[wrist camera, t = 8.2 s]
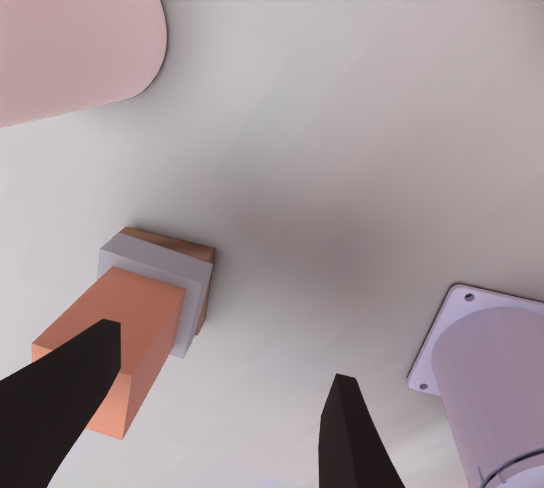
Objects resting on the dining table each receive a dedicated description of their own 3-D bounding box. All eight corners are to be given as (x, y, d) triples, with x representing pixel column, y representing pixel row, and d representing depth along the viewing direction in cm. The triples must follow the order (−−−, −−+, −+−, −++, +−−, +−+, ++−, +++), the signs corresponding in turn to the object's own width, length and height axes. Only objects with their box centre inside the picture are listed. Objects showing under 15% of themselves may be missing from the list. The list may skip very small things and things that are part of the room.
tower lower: (216, 244, 23) (206, 260, 21) (206, 316, 26) (197, 335, 24) (129, 223, 23) (112, 237, 21) (128, 296, 26) (113, 314, 24)
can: (107, 125, 20) (-144, 205, 10) (13, 8, 18) (-429, -52, 8) (198, 46, 18) (-1, 36, 7) (101, -98, 16) (-359, -395, 5)
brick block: (186, 289, 20) (132, 376, 15) (174, 345, 22) (122, 440, 16) (112, 265, 20) (31, 343, 15) (106, 323, 22) (33, 411, 16)
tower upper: (213, 264, 21) (202, 283, 20) (194, 336, 24) (183, 358, 22) (119, 232, 21) (99, 248, 19) (110, 307, 24) (92, 328, 22)
